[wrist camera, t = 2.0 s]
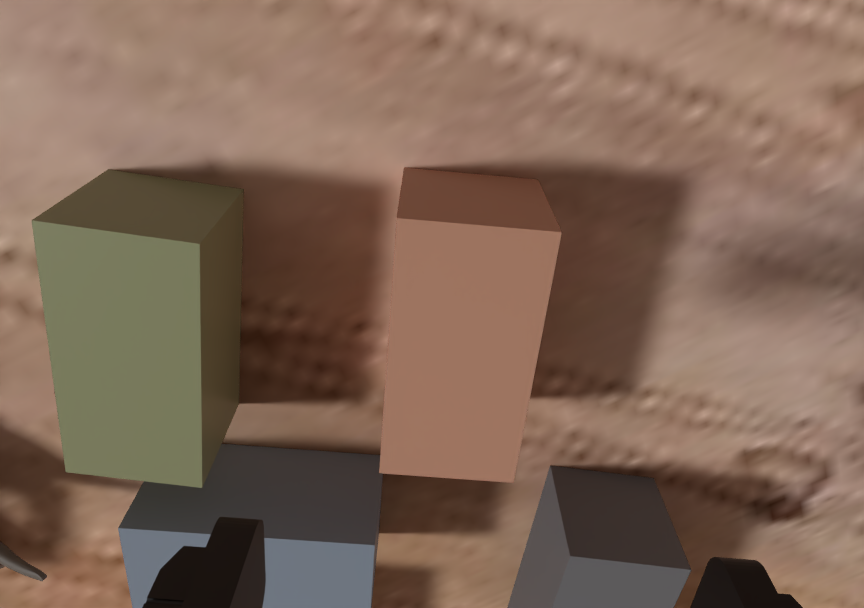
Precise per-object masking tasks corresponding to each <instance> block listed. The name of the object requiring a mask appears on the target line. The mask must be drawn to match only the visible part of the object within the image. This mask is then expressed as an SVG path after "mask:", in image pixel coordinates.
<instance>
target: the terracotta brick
mask: <svg viewBox="0 0 864 608" xmlns="http://www.w3.org/2000/svg"><path fill="white" fill-rule="evenodd" d="M561 234H562V232H561V229H560V227H559V225H558V223H557V220H556V218H555V216H554V214H553V212H552V209H551V207H550V205H549V203H548V201H547V198H546V196H545V194H544V192H543V189H542V187H541V185H540V183H539V181H538V179H527V178H516V177H505V176H494V175H482V174H471V173H460V172H449V171H438V170H427V169H416V168H404V171H403V178H402V185H401V192H400V199H399V206H398V213H397V221H396V235H395V250H394V264H393V279H392V294H391V308H390V323H389V337H388V352H387V366H386V381H385V395H384V410H383V424H382V439H381V454H380V468H379V473H383V474H397V475H411V476H425V477H439V478H453V479H467V480H481V481H495V482H509V483H514V478H515V473H516V468H517V462H518V457H519V452H520V447H521V442H522V436H523V431H524V426H525V421H526V416H527V410H528V405H529V400H530V395H531V390H532V385H533V379H534V374H535V369H536V364H537V359H538V353H539V348H540V343H541V338H542V333H543V327H544V322H545V317H546V312H547V307H548V302H549V296H550V291H551V286H552V281H553V276H554V270H555V265H556V260H557V255H558V250H559V244H560V239H561Z"/></svg>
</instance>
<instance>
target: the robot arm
mask: <svg viewBox="0 0 864 608" xmlns="http://www.w3.org/2000/svg"><path fill="white" fill-rule="evenodd" d="M265 585H266V571H265V543H264V524H263V520H258V519H246V518H233V517H219V518H218V520H217V521H216V523H215V526H214V528H213V531H212V533H211V535H210V538H209V540H208V543H207V545H206V547H194V546H183V547H182V548H181V549H180V550H179V551H178V552H177V553H176V554H175V555H174V556H173V557H172V558H171V559H170V560H169V561H168V562H167V563H166V564H165V565H164V566H163V567H162V568H161V569H160V571H159V573H158V575H157V577H156V579H155V581H154V583H153V586H152V588H151V590H150V592H149V594H148V596H147V601H146V603H144V605H143V607H142V608H262V607H263V601H264V594H265ZM690 608H803V607H802V606H801V605H800V604H799V603H798V602H797V601H796V600H795V599H794V598H793V597H792V596H791V595H790V594H778V593H777V591H776V589H775V587H774V585H773V583H772V581H771V579H770V578H769V576H768V574H767V572H766V570H765V568H764V567H763V566H762V564H761V563H759V562H758V561H756V560H746V559H733V558H720V557H713V558H711V559H710V561H709V562H708V564H707V567H706V569H705V572H704V574H703V577H702V579H701V582H700V584H699V587H698V589H697V592H696V595H695V597H694V600H693V602H692V605H691V607H690Z"/></svg>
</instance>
